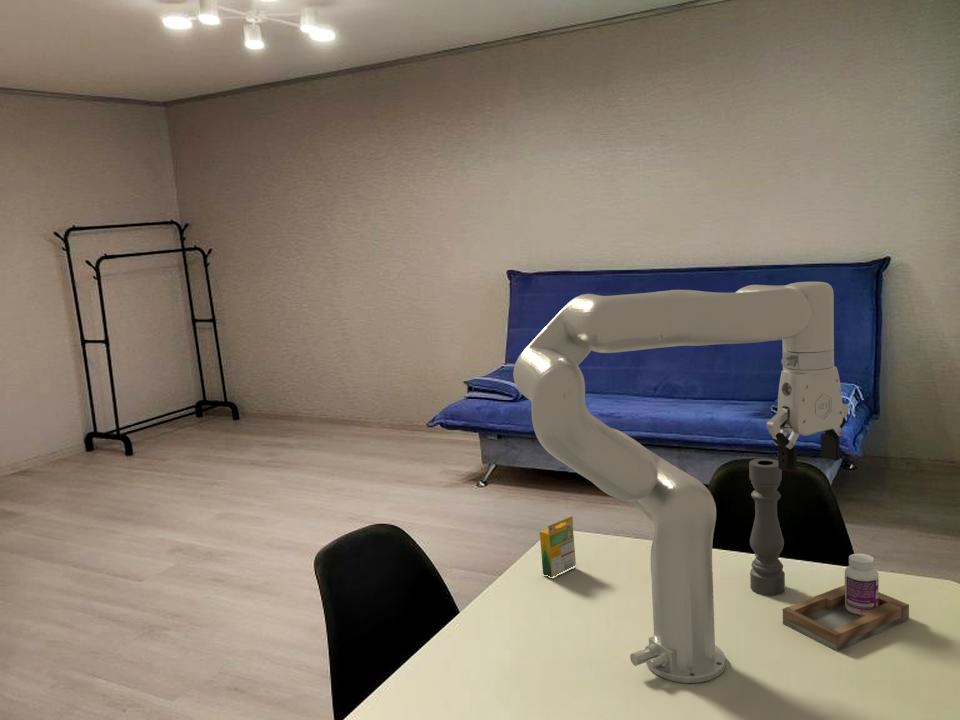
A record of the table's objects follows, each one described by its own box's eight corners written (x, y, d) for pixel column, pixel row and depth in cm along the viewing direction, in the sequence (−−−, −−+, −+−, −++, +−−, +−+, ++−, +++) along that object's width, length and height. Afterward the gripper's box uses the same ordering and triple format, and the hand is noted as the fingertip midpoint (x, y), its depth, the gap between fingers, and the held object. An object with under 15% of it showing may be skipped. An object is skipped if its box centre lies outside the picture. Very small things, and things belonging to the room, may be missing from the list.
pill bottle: (884, 616, 136) (884, 563, 134) (853, 618, 136) (853, 565, 134) (869, 601, 141) (869, 550, 139) (839, 603, 141) (839, 552, 139)
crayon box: (566, 564, 169) (563, 512, 167) (576, 568, 166) (573, 516, 165) (542, 575, 164) (538, 522, 162) (552, 579, 162) (548, 526, 160)
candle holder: (779, 598, 147) (777, 469, 143) (746, 591, 150) (743, 465, 146) (789, 585, 151) (787, 460, 147) (756, 579, 155) (754, 456, 151)
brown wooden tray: (836, 651, 128) (836, 635, 127) (782, 623, 138) (782, 608, 137) (908, 619, 136) (909, 604, 135) (853, 595, 145) (853, 581, 145)
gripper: (787, 371, 118) (789, 481, 120) (866, 355, 125) (865, 459, 128) (749, 365, 124) (752, 469, 127) (826, 350, 132) (827, 449, 135)
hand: (809, 464), depth 127 cm, fingers open, 9 cm apart
